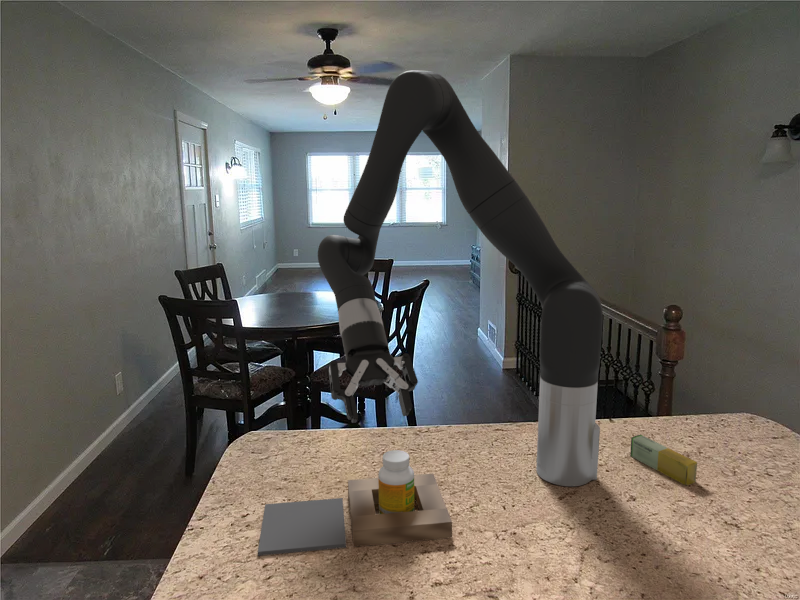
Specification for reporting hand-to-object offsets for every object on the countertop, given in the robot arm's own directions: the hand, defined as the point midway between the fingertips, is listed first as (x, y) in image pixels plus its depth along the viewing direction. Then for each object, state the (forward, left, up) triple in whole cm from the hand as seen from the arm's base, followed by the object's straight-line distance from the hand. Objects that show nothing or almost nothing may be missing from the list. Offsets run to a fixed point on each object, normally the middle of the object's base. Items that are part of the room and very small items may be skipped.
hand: (381, 417), depth 95 cm
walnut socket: (-1, +8, -13) cm, 15 cm away
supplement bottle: (-1, +8, -13) cm, 15 cm away
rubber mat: (+13, +9, -13) cm, 20 cm away
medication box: (-49, 0, -13) cm, 50 cm away
